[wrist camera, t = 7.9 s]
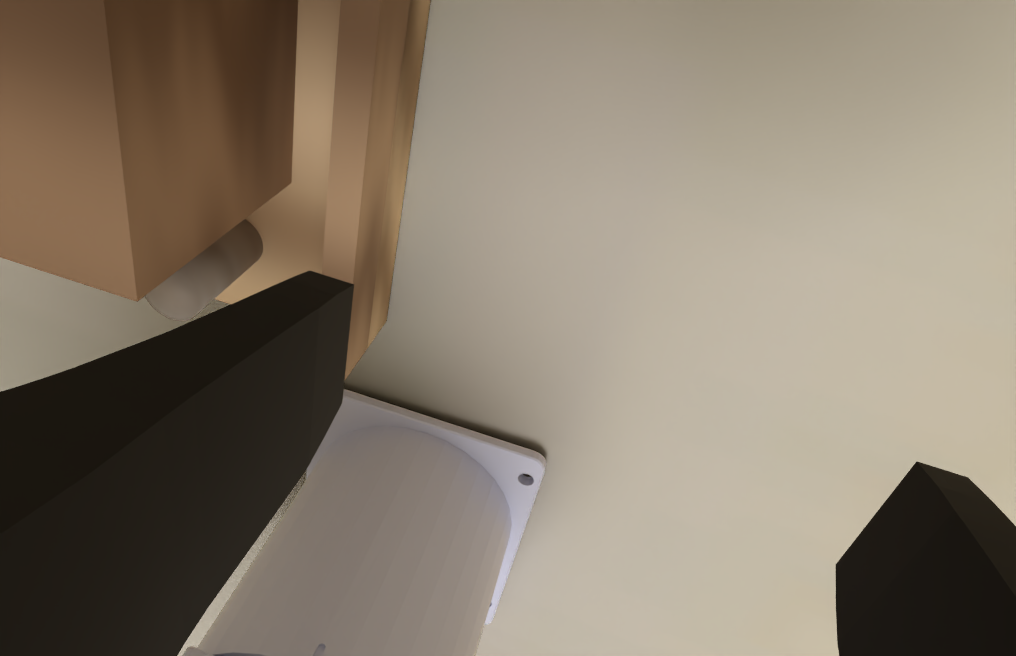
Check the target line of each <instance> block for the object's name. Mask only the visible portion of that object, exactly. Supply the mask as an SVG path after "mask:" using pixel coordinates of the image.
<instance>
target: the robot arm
mask: <svg viewBox="0 0 1016 656" xmlns="http://www.w3.org/2000/svg"><path fill="white" fill-rule="evenodd" d="M353 292H354V284H351V283H348V282H345V281H342V280H339V279H336V278H332V277H329V276H326V275H323V274H320V273H316V272H313V271H310V270H309V271H307V272H304V273H302V274H299V275H297V276H294V277H292V278H289V279H287V280H285V281H283V282H280V283H278V284H276V285H273V286H271V287H269V288H267V289H264V290H262V291H260V292H258V293H256V294H253V295H251V296H249V297H247V298H244V299H242V300H240V301H238V302H235V303H233V304H231V305H229V306H226V307H224V308H222V309H220V310H217V311H215V312H213V313H210V314H208V315H206V316H203V317H201V318H199V319H196V320H194V321H192V322H189V323H187V324H185V325H182V326H180V327H178V328H176V329H173V330H171V331H168V332H166V333H164V334H161V335H159V336H156V337H153V338H151V339H148V340H146V341H143V342H140V343H138V344H135V345H132V346H130V347H127V348H125V349H122V350H119V351H117V352H114V353H112V354H109V355H106V356H104V357H101V358H98V359H96V360H93V361H91V362H88V363H85V364H83V365H80V366H77V367H75V368H72V369H69V370H66V371H63V372H61V373H58V374H55V375H52V376H49V377H46V378H43V379H40V380H37V381H34V382H31V383H28V384H25V385H21V386H18V387H15V388H12V389H9V390H5V391H2V392H0V656H177V655H178V653H179V652H180V650H181V648H182V647H183V645H184V643H185V642H186V640H187V639H188V637H189V636H190V634H191V633H192V631H193V629H194V628H195V626H196V625H197V623H198V622H199V620H200V619H201V617H202V616H203V614H204V613H205V611H206V610H207V608H208V607H209V605H210V604H211V603H212V601H213V600H214V598H215V597H216V596H217V594H218V593H219V591H220V590H221V589H222V587H223V586H224V584H225V583H226V582H227V580H228V579H229V577H230V576H231V575H232V573H233V572H234V570H235V569H236V568H237V566H238V565H239V563H240V562H241V561H242V559H243V558H244V556H245V555H246V554H247V552H248V551H249V549H250V548H251V547H252V545H253V544H254V543H255V541H256V540H257V538H258V537H259V536H260V534H261V533H262V531H263V530H264V529H265V527H266V526H267V524H268V523H269V522H270V520H271V519H272V517H273V516H274V515H275V513H276V512H277V510H278V509H279V508H280V506H281V505H282V503H283V502H284V500H285V499H286V498H287V496H288V495H289V493H290V492H291V491H292V489H293V488H294V486H295V485H296V483H297V482H298V481H299V479H300V478H301V476H302V475H303V473H304V472H305V470H306V469H307V470H306V481H305V482H304V484H303V485H302V487H301V489H300V490H299V492H298V493H297V495H296V496H295V498H294V499H293V501H292V502H291V504H290V506H289V507H288V509H287V510H286V512H285V513H284V515H283V516H282V518H281V519H280V521H279V523H278V524H277V526H276V527H275V529H274V530H273V532H272V533H271V535H270V536H269V538H268V539H267V541H266V543H265V544H264V546H263V547H262V549H261V550H260V552H259V553H258V555H257V556H256V558H255V560H254V561H253V563H252V564H251V566H250V567H249V569H248V570H247V572H246V573H245V575H244V576H243V578H242V580H241V581H240V583H239V584H238V586H237V587H236V589H235V590H234V592H233V593H232V595H231V597H230V598H229V600H228V601H227V603H226V604H225V606H224V607H223V609H222V610H221V612H220V613H219V615H218V617H217V618H216V620H215V621H214V623H213V624H212V626H211V627H210V629H209V630H208V632H207V634H206V635H205V637H204V638H203V640H202V641H201V643H200V644H199V646H198V647H197V648H196V647H188V648H187V649H186V651H185V652H184V654H183V655H182V656H475V655H476V652H477V648H478V645H479V641H480V638H481V635H482V631H483V628H484V625H487V624H490V623H491V622H492V621H493V618H494V615H495V613H496V610H497V607H498V604H499V601H500V598H501V595H502V593H503V590H504V587H505V584H506V581H507V578H508V575H509V573H510V570H511V567H512V564H513V561H514V558H515V556H516V553H517V550H518V547H519V544H520V541H521V538H522V536H523V533H524V530H525V527H526V524H527V521H528V518H529V516H530V513H531V510H532V507H533V504H534V501H535V499H536V496H537V493H538V490H539V487H540V484H541V481H542V479H543V476H544V473H545V469H546V460H545V458H544V457H543V456H542V455H541V454H540V453H538V452H536V451H533V450H530V449H527V448H524V447H521V446H518V445H515V444H512V443H509V442H506V441H503V440H500V439H497V438H493V437H490V436H487V435H484V434H481V433H478V432H475V431H472V430H469V429H466V428H463V427H460V426H457V425H454V424H451V423H447V422H444V421H441V420H438V419H435V418H432V417H429V416H426V415H423V414H420V413H417V412H414V411H411V410H408V409H405V408H401V407H398V406H395V405H392V404H389V403H386V402H383V401H380V400H377V399H374V398H371V397H368V396H365V395H362V394H358V393H355V392H352V391H349V390H346V389H344V381H345V371H346V361H347V351H348V341H349V331H350V321H351V311H352V301H353ZM523 474H528V475H530V476H532V477H526V476H524V475H523ZM836 617H837V640H838V649H839V656H1016V526H1015V525H1014V524H1013V523H1012V522H1011V521H1010V520H1009V519H1008V518H1007V516H1006V515H1005V514H1004V513H1003V512H1002V511H1001V510H1000V509H999V508H998V507H997V506H996V505H995V504H994V503H993V502H992V501H991V500H990V499H989V498H988V497H987V496H986V495H985V494H984V493H983V492H982V491H981V490H980V489H979V488H978V487H977V486H976V485H975V484H974V483H973V482H972V481H971V480H970V479H969V478H968V477H964V476H961V475H958V474H955V473H952V472H949V471H945V470H942V469H939V468H936V467H933V466H930V465H926V464H923V463H920V462H916V463H915V464H914V466H913V467H912V468H911V469H910V471H909V472H908V473H907V475H906V476H905V477H904V478H903V480H902V481H901V482H900V484H899V485H898V486H897V487H896V489H895V490H894V491H893V492H892V494H891V495H890V496H889V498H888V499H887V500H886V501H885V503H884V504H883V505H882V506H881V508H880V509H879V510H878V512H877V513H876V514H875V515H874V517H873V518H872V519H871V520H870V522H869V523H868V524H867V526H866V527H865V528H864V529H863V531H862V532H861V533H860V535H859V536H858V537H857V538H856V540H855V541H854V542H853V543H852V545H851V546H850V547H849V549H848V550H847V551H846V552H845V554H844V555H843V556H842V557H841V559H840V560H839V561H838V563H837V564H836Z"/></svg>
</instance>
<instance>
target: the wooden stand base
mask: <svg viewBox="0 0 1016 656" xmlns="http://www.w3.org/2000/svg"><path fill="white" fill-rule="evenodd" d="M430 1H431V0H298V20H297V48H296V75H295V102H294V129H293V156H292V183H291V184H290V185H288V186H287V187H286V188H284V189H283V190H282V191H280V192H279V193H278V194H277V195H275V196H274V197H273V198H271V199H270V200H269V201H268V202H266V203H265V204H264V205H262V206H261V207H260V208H258V209H257V210H256V211H255V212H253V213H252V214H251V215H249V216H248V217H247V218H245V219H244V220H243V221H242V222H240V223H239V224H238V225H236V226H235V227H234V228H232V229H231V230H230V231H229V232H227V233H226V234H225V235H223V236H222V237H221V238H219V239H218V240H217V241H216V242H214V243H213V244H212V245H210V246H209V247H208V248H206V249H205V250H204V251H203V252H201V253H200V254H199V255H197V256H196V257H195V258H193V259H192V260H191V261H190V262H188V263H187V264H186V265H184V266H183V267H182V268H180V269H179V270H178V271H177V272H175V273H174V274H173V275H171V276H170V277H169V278H167V279H166V280H165V281H164V282H162V283H161V284H160V285H158V286H157V287H156V288H154V289H153V290H152V291H151V292H149V293H148V294H147V295H145V297H146V299H147V301H148V302H149V303H150V305H151V306H152V307H153V308H154V309H155V310H157V311H158V312H159V313H160V314H162V315H164V316H165V317H167V318H170V319H173V320H177V321H187V320H190V319H192V318H193V317H194V316H196V315H197V314H198V313H199V312H200V311H201V310H202V309H204V308H205V307H206V306H207V305H208V304H209V303H210V302H211V301H213V300H214V299H216V300H219V301H222V302H225V303H228V304H233V303H235V302H238V301H240V300H242V299H244V298H247V297H249V296H251V295H253V294H256V293H258V292H260V291H262V290H264V289H267V288H269V287H271V286H273V285H276V284H278V283H280V282H283V281H285V280H287V279H289V278H292V277H294V276H297V275H299V274H302V273H304V272H307V271H309V270H310V271H313V272H316V273H320V274H323V275H326V276H329V277H332V278H336V279H339V280H342V281H345V282H348V283H351V284H354V292H353V301H352V311H351V321H350V331H349V341H348V351H347V361H346V371H345V380H346V378H347V377H348V375H349V374H350V373H351V371H352V370H353V368H354V367H355V365H356V364H357V362H358V361H359V360H360V358H361V357H362V355H363V354H364V352H365V351H366V350H367V348H368V347H369V345H370V344H371V342H372V341H373V340H374V338H375V337H376V335H377V334H378V332H379V331H380V330H381V328H382V327H383V325H384V324H385V322H386V321H387V314H388V307H389V300H390V292H391V285H392V278H393V270H394V263H395V256H396V249H397V241H398V234H399V227H400V220H401V212H402V205H403V198H404V190H405V183H406V176H407V169H408V161H409V154H410V147H411V139H412V132H413V125H414V118H415V110H416V103H417V96H418V89H419V81H420V74H421V67H422V59H423V52H424V45H425V38H426V30H427V23H428V16H429V9H430Z"/></svg>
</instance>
